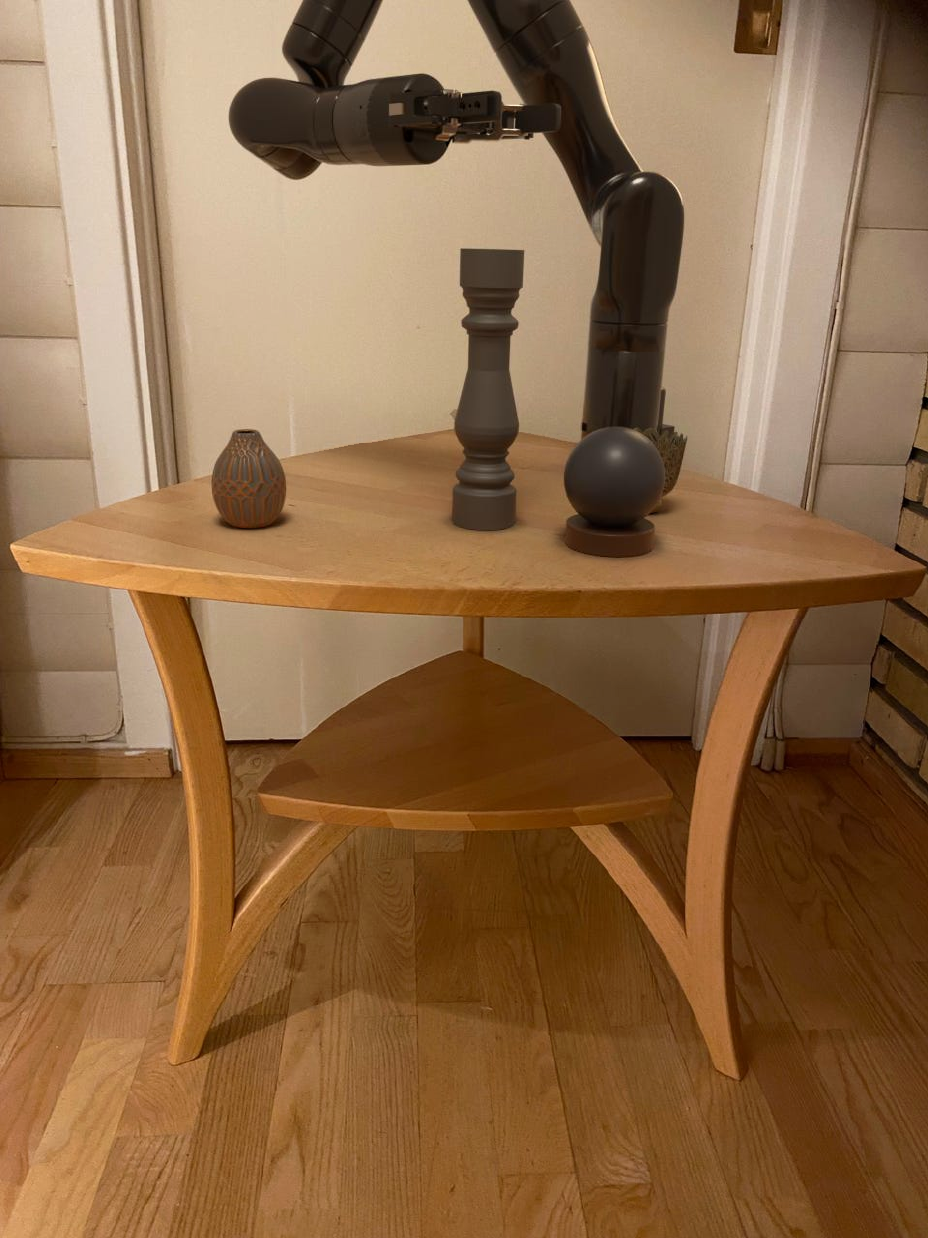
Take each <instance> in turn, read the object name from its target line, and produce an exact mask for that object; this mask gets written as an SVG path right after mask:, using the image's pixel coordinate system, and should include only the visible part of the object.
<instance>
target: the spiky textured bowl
mask: <svg viewBox="0 0 928 1238" xmlns="http://www.w3.org/2000/svg"><path fill="white" fill-rule="evenodd" d="M633 430H635V431H637V432H639V433H641V430H640V429H639V428H638V427H636V428H634V429H633ZM641 434H643V435H644V436H645V437H647V438H648V439H649V440H650V441H651V442H652V443H653V444H654V445H655V447H656V448H657V449H658V451H659V453H660V455H661V457H662V460H663V463H664V467H665V485H664V490H663V493H662V496H661V498H663V497H665V496H667V495H669V494H670V493H671V492H672V491H673V489H674V488H675V486H676V485H677V482H678V479H679V476H680V472H681V469H682V464H683V460H684V456H685V451H686V447H687V441H688V435H686V436H685V437H684V434H683V433H680V435H679V432H678V431H674V433H673V434H672V435H671V437H670V439H669V436H668V430H666V431H664V432H662V436H660V435H659V434H658V432H657V431H656V430H655V429H654V428H649V429H646V430H645V431H643V432H642V433H641ZM661 498H660V500H659V502H658V503H657V505H656V506H655V508H654V509H653V510H652V511H651V512H650V513H649V514H654V513H657V512H658V511H660V510H661V507H662V499H661Z"/></svg>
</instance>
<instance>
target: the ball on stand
mask: <svg viewBox="0 0 928 1238" xmlns="http://www.w3.org/2000/svg"><path fill="white" fill-rule="evenodd" d="M664 485H665V467H664V463H663V460H662V457H661V455H660V453H659V451H658V449H657V448H656V447H655V445H654V444H653V443H652V442H651V441H650V440H649V439H648V438H647V437H645V436H644V435H643V434H641V433H639V432H637V431H635V430H632V429H629V428H625V427H606V428H602V429H599V430H596V431H594V432H592V433H590V434H588V435H587V436H585V437H584V438H583V439H582V440H581V439H580V441H579V442H577V443H576V445H575V446H574V447H573V448H572V449H571V451H570V453H569V455H568V457H567V460H566V462H565V466H564V471H563V486H564V487H563V488H564V491H565V495H566V497H567V499H568V502H569V503H570V505H571V507H572V508H573V510H574V511H575V512H576V513H577V514H573V515H571V516H569V517H568V518H567V519H566V522H565V537H564V538H565V539H564V542H565V545H566V546H567V547H569V549H572V550H574V551H577V552H579V553H582V554H587V555H592V556H597V557H605V558H606V557H608V558H628V557H629V558H630V557H637V556H641V555H645V554H647V553H649V552H651V551H652V550H653V548H654V539H655V530H656V526H655V524H654V522H652V521H651V520H649V519H647V518H646V517H647V516H648V515H649V514H651V513H650V512H651V511H652V510H653V509H654V508H655V506H656V505H657V503H658V502H659V500H660V499H661V498H662V497H661V496H662V493H663V490H664Z"/></svg>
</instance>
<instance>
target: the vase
mask: <svg viewBox="0 0 928 1238" xmlns="http://www.w3.org/2000/svg"><path fill="white" fill-rule="evenodd" d="M284 471H285V470H284V467H283V465H282V463H281V461H280V459H279V458H278V456H277V455H276V454H275V453H274V451H273V449H271V448H270V447H269V445H268V444H267V443H266V442H265V440H264V438H263V437H262V434H261V433H260V431H259V430H258V429H252V428H242V429H235V430H233V431H232V432H231V436H230V439H229V441H228V442H227V444H226V446H225V447H224V448H223V450H222V451H221V453H220V454H219V456H218V457H217V458H216V461H215V462H214V466H213V469H212V474H211V481H210V485H211V494H212V499H213V502H214V505H215V507H216V510H217V512H218V514H219V515H220V517H222V519H224V520H225V522H227V523H228V524H229V525H230V526H231V527H234V528H240V529H259V528H264V527H268V526H270V525H272V524H273V523H274V522H275V521H276V520H277V519H278V517H279V516H281V514H282V512H283V509H284V507H285V503H286V499H287V479H286V474H285V472H284Z"/></svg>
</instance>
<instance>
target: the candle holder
mask: <svg viewBox="0 0 928 1238" xmlns="http://www.w3.org/2000/svg"><path fill="white" fill-rule="evenodd" d="M459 260H460V261H459V287H461V288H462V297H463V299H464V300H465V302H466V307H467V308H468V309H469V310H468V314H466V315H465V316H464V317H462V319H461V327H462V328H463V329H465V331H466V334H467V335H468V337H467V338H468V341H467V342H468V344H467V345H468V346H467V348H468V349H467V369H466V374H465V377H464V381H463V385H462V390H461V394H460V398H459V402H458V406H457V410H456V414H455V418H454V421H453V422H454V423H453V424H454V426H453V427H454V428H453V429H454V433H455V436H456V438H457V440H458V442H459V443H460V445H461V446H462V447H463V450H462V454H463V455H464V457H465V459H464V460H463V461H462V462H461V464H460V466H459V468H457V469H456V470H455V477H456V480H458V482H457V483H455V485H454V486H453V487H452V501H451V503H452V506H451V507H452V508H451V522H452V523H453V525H455V526H457V527H459V528H463V529H468V530H471V531H499V530H500V531H501V530H506V529H509V528H512V527H514V525H515V523H516V510H517V509H516V508H517V488H516V487H515V486H514V485H512V484H511V483H512V482H513V481H514V479H515V477H516V476H515V472H514V471H513V469H512V468H511V466H510V464H509V463H508V461H507V459H506V458H507V457H508V456H509V455H510V451H509V448H511V446H512V445H513V444H514V442H515V441H516V439H517V437H518V434H519V431H520V421H519V420H520V419H519V416H518V409H517V406H516V399H515V394H514V388H513V382H512V377H511V371H510V362H511V361H510V360H511V338H512V336H513V335H514V331H516V330H517V329H518V328H519V326H520V325H519V323H520V322H519V320H518V319H517V318H516V317H515V316H513V315H512V310H513V309H514V308H515V305H516V302H517V301H518V300H519V298H520V290H522V289H523V288H524V267H525V249H508V248H507V249H505V248H504V249H503V248H460V251H459Z"/></svg>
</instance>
